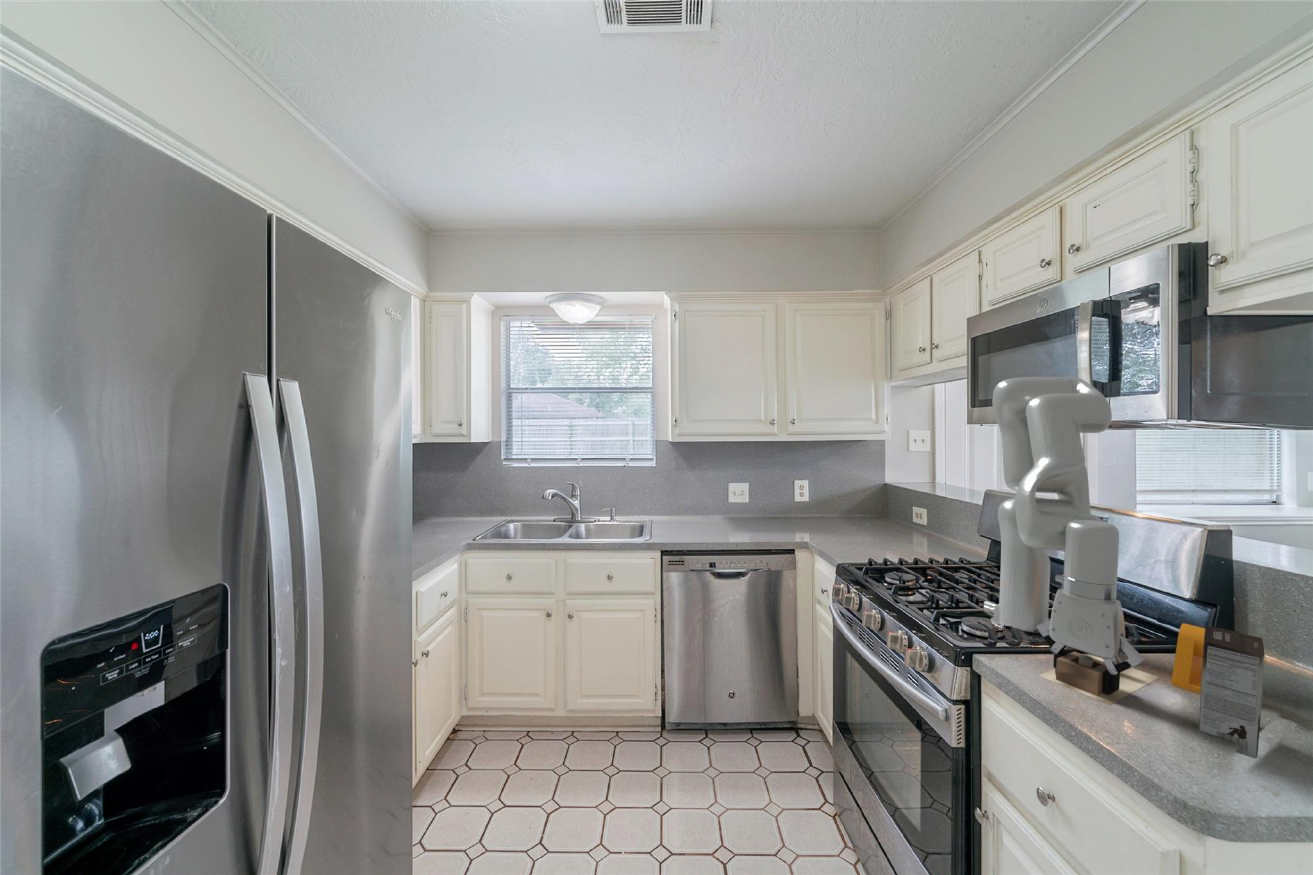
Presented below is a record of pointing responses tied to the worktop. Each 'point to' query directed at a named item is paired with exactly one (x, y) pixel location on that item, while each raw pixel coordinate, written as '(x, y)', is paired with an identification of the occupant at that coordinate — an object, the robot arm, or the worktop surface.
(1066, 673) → the collar
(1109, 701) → the board
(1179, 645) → the bracket
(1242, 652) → the coffee box
